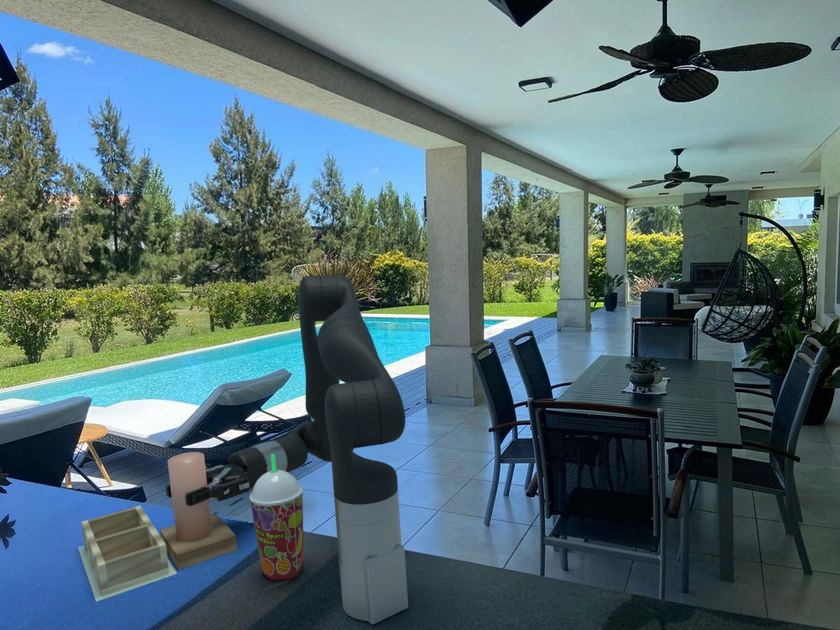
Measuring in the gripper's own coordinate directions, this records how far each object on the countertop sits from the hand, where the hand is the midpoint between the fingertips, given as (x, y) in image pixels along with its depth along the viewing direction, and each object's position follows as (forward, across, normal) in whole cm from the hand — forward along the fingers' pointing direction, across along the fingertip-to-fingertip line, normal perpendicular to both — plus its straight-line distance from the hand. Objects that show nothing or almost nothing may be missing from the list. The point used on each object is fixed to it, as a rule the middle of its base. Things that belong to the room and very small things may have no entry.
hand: (177, 496), depth 107 cm
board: (-3, 0, +11) cm, 11 cm away
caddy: (+7, -7, +10) cm, 14 cm away
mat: (+7, -7, +11) cm, 15 cm away
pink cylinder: (-2, 0, +8) cm, 8 cm away
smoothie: (-6, +20, +11) cm, 24 cm away
